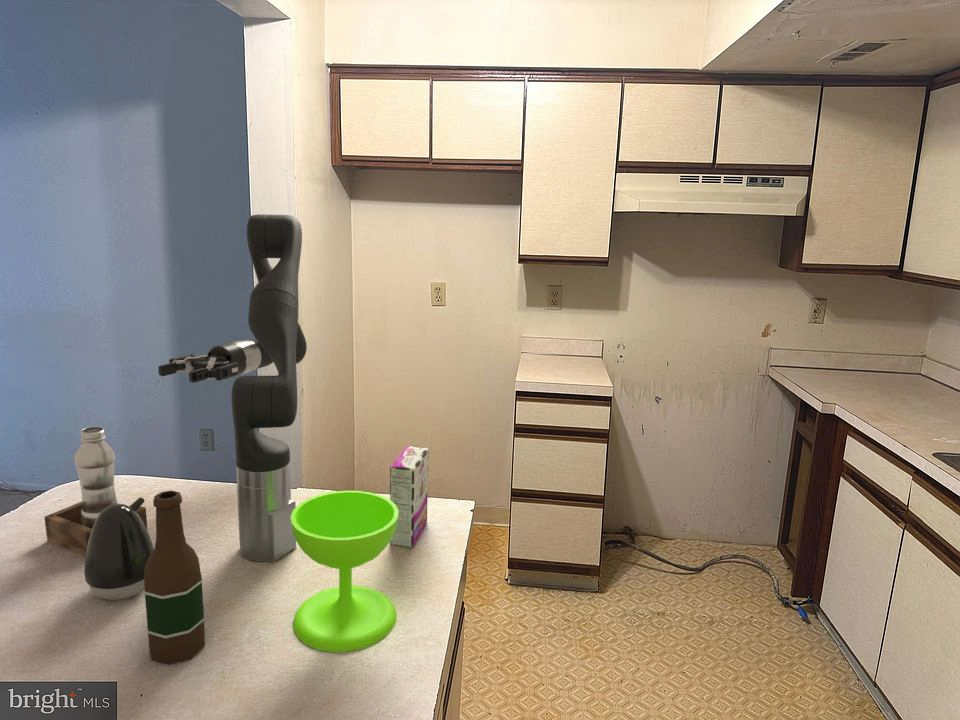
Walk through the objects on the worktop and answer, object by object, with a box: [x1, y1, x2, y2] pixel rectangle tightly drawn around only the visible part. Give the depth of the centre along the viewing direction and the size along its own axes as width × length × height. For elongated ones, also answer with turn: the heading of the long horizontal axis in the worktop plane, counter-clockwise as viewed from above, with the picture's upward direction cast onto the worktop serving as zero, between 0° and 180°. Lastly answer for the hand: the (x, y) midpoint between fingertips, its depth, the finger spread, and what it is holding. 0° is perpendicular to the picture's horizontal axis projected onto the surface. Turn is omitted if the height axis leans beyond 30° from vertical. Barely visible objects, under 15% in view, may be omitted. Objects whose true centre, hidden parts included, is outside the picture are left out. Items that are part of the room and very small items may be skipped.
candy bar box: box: [389, 445, 429, 548], centre depth 127 cm, size 11×5×16 cm, turn 170°
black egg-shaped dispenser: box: [83, 496, 155, 601], centre depth 104 cm, size 10×10×15 cm
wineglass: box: [290, 490, 399, 653], centre depth 100 cm, size 16×16×18 cm
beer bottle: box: [144, 490, 206, 666], centre depth 91 cm, size 8×8×24 cm
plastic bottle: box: [73, 426, 119, 528], centre depth 120 cm, size 6×7×20 cm
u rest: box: [43, 501, 149, 556], centre depth 121 cm, size 12×11×5 cm
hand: (174, 374), depth 130 cm, fingers open, 8 cm apart
